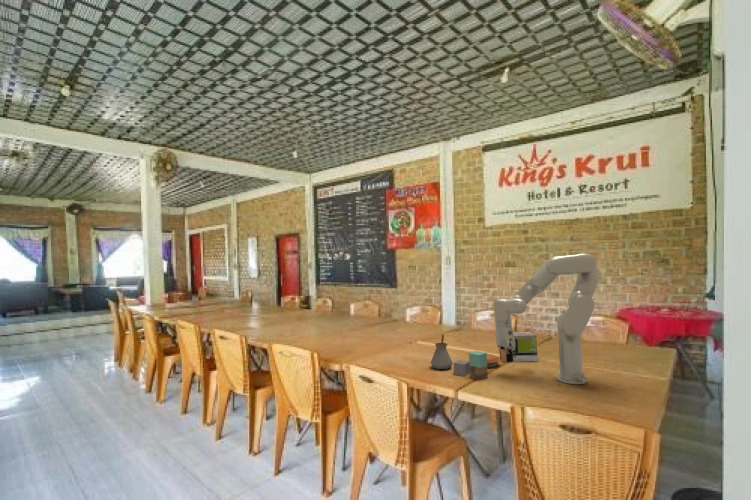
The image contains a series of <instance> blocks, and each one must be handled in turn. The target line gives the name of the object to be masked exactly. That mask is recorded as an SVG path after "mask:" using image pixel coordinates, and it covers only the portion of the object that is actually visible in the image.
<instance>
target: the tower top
mask: <svg viewBox="0 0 751 500" xmlns="http://www.w3.org/2000/svg"><path fill="white" fill-rule="evenodd" d="M487 354H488V353H487V352H483V351H480V350H475V351H471V352H469V353H468V355H469V356H468V358H469V360H468V361H469V365H470V366H474V367H478V368H481V367H484V366H487Z"/></svg>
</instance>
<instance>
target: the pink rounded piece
mask: <svg viewBox="0 0 751 500" xmlns="http://www.w3.org/2000/svg"><path fill="white" fill-rule="evenodd" d="M509 349H510V348H508V350H509ZM500 351H501V359H500V361H501V363H503V364H511V363H512V362H507V357H506V354H507V351H506V348H502V349H500ZM500 351H499V352H500Z"/></svg>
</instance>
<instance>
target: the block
mask: <svg viewBox="0 0 751 500" xmlns="http://www.w3.org/2000/svg"><path fill="white" fill-rule="evenodd" d="M454 374H456V375H455V376H460V375H463V376H462V377H467V376H468V375H470V365H469V360H461V359H457V360H456V361H454V362H453V375H454ZM467 374H468V375H467ZM466 375H467V376H466Z"/></svg>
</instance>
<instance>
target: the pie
mask: <svg viewBox="0 0 751 500" xmlns="http://www.w3.org/2000/svg"><path fill="white" fill-rule="evenodd" d="M500 361H501V359H500V356H499V357H498V356H497V355H495V354H491V353H487V369H490V368H491V369H492V368H495V367H496V366H497V365H498V363H499V362H500Z"/></svg>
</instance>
